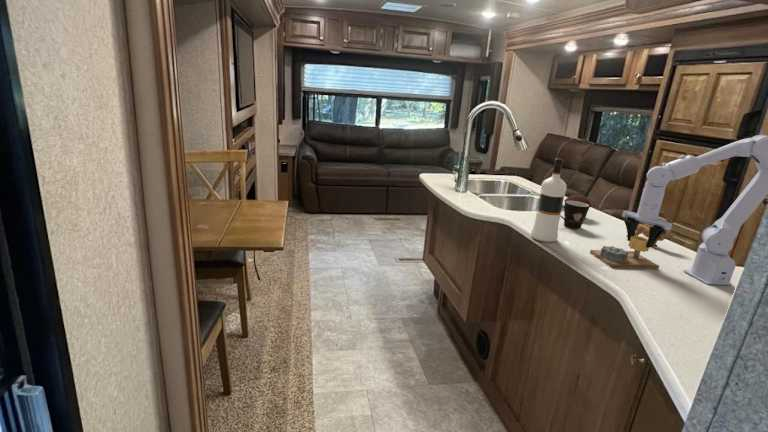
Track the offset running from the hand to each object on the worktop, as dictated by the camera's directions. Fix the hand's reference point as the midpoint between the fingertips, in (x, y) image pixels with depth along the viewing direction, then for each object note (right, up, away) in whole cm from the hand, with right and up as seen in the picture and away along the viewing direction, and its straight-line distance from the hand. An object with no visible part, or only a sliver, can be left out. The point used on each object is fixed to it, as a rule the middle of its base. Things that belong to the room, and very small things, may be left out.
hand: (639, 243), depth 133 cm
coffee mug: (-7, +5, +36) cm, 37 cm away
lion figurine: (+16, -2, +20) cm, 26 cm away
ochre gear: (0, -2, +1) cm, 2 cm away
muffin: (+3, +9, +50) cm, 51 cm away
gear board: (-5, -6, +1) cm, 7 cm away
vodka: (-25, +1, +18) cm, 30 cm away
